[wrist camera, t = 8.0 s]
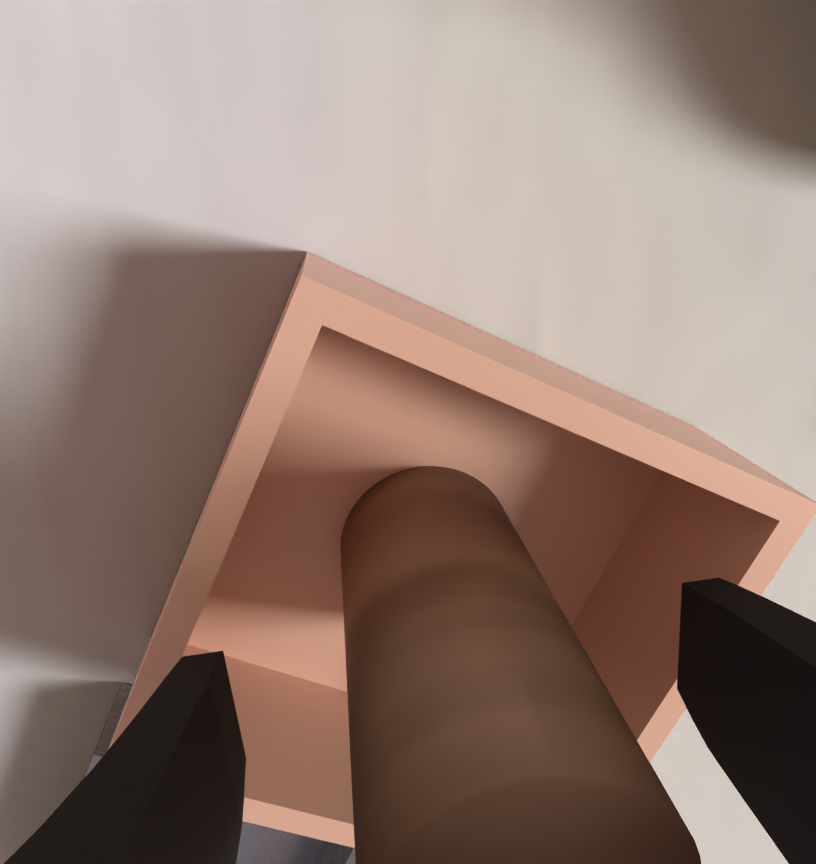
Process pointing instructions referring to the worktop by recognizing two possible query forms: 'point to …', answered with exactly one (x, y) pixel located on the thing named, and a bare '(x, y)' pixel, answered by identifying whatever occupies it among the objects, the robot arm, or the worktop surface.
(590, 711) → the walnut strut
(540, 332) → the worktop surface
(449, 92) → the worktop surface
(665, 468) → the terracotta bin
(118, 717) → the metal socket
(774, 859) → the worktop surface
